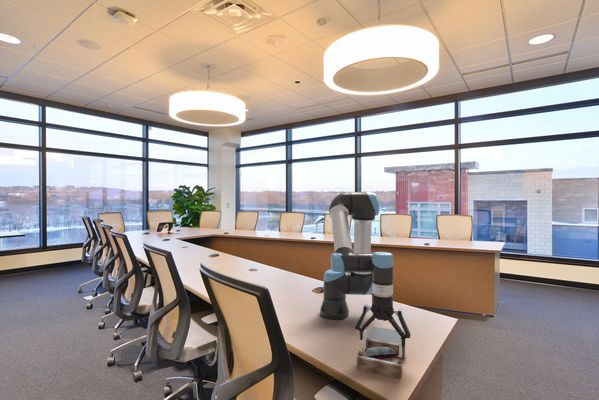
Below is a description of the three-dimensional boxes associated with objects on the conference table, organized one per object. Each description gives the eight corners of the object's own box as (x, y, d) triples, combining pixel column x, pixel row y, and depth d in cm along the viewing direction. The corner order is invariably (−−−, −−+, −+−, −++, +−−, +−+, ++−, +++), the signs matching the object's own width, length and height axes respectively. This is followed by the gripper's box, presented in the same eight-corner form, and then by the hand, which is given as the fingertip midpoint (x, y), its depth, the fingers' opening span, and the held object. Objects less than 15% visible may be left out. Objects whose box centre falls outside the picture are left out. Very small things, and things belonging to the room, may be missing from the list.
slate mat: (366, 341, 132) (366, 340, 132) (372, 327, 147) (372, 326, 147) (398, 347, 127) (398, 346, 127) (401, 332, 142) (401, 331, 142)
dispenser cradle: (357, 369, 110) (357, 355, 110) (366, 347, 127) (366, 335, 127) (401, 379, 105) (401, 364, 105) (405, 355, 121) (405, 342, 121)
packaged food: (362, 361, 117) (360, 346, 119) (393, 359, 118) (391, 345, 120) (368, 364, 109) (366, 348, 111) (401, 362, 110) (398, 346, 112)
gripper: (347, 293, 117) (347, 350, 117) (417, 301, 107) (417, 363, 107) (352, 288, 124) (351, 341, 124) (418, 295, 114) (417, 354, 114)
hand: (382, 352), depth 116 cm, fingers open, 12 cm apart
